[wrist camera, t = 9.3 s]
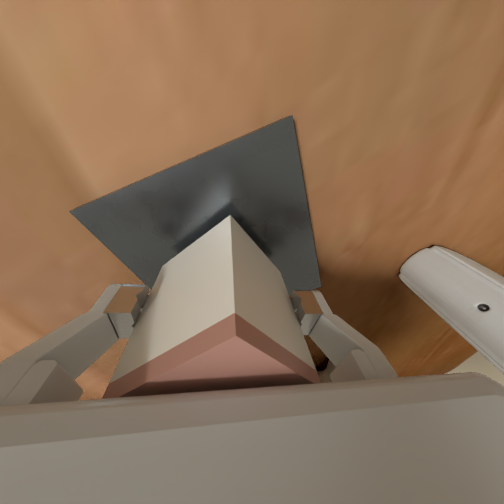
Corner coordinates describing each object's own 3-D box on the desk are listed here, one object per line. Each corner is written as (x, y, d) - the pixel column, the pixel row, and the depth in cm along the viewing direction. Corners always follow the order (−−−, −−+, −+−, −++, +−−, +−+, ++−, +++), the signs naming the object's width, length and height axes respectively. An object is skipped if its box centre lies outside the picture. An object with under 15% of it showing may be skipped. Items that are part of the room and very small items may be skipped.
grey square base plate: (192, 323, 17) (177, 405, 12) (75, 208, 10) (-77, 292, 5) (319, 282, 15) (361, 355, 10) (289, 115, 8) (374, 104, 4)
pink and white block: (221, 306, 13) (217, 427, 8) (162, 265, 11) (97, 407, 5) (280, 271, 12) (323, 388, 7) (230, 214, 9) (235, 335, 4)
